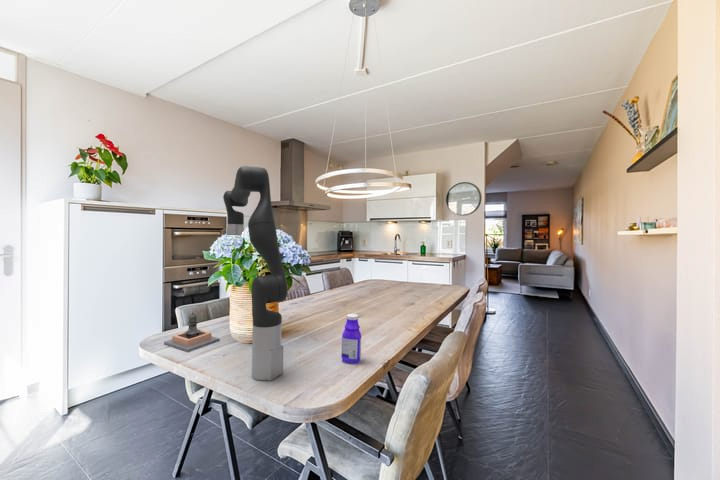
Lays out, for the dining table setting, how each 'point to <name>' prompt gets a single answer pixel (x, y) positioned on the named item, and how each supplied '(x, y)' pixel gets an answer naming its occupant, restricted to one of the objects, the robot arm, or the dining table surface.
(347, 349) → the bottle
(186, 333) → the dark grey upright piece
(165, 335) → the dining table surface
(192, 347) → the tray
